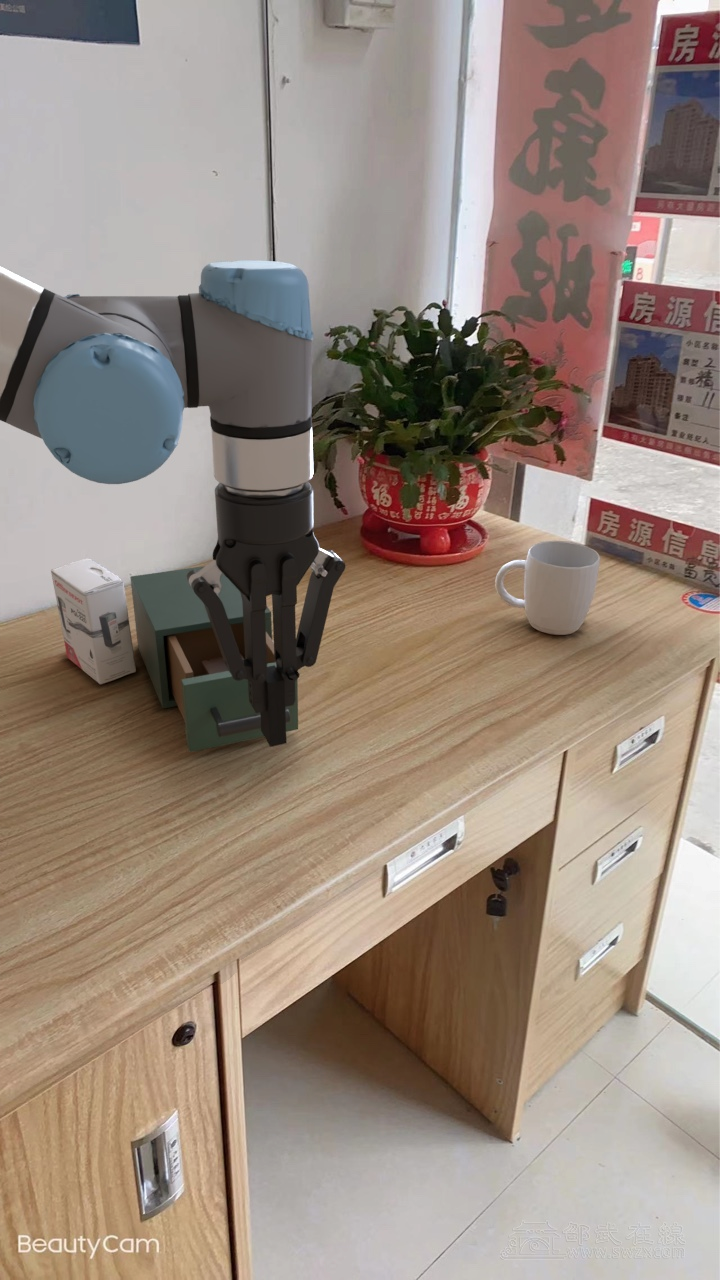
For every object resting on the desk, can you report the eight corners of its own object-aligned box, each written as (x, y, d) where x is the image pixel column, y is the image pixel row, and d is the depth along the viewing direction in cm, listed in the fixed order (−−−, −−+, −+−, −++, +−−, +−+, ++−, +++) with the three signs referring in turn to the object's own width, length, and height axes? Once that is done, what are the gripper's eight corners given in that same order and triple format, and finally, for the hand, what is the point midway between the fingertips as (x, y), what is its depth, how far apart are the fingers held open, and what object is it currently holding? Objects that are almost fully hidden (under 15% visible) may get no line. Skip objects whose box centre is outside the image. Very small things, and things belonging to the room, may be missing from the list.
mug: (592, 615, 118) (603, 545, 113) (585, 645, 111) (597, 572, 106) (498, 600, 121) (505, 532, 117) (485, 629, 114) (492, 557, 109)
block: (215, 717, 91) (213, 680, 89) (203, 696, 94) (200, 660, 92) (256, 708, 93) (254, 672, 91) (242, 688, 96) (240, 652, 94)
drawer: (312, 751, 88) (312, 684, 84) (199, 776, 84) (194, 707, 80) (260, 668, 102) (257, 607, 98) (161, 686, 98) (155, 624, 94)
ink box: (63, 658, 105) (48, 566, 99) (101, 645, 108) (89, 555, 102) (98, 687, 99) (85, 592, 94) (138, 672, 102) (127, 579, 97)
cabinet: (273, 687, 100) (271, 611, 96) (162, 708, 96) (154, 630, 91) (238, 631, 112) (234, 561, 107) (138, 648, 108) (130, 576, 103)
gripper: (326, 459, 73) (327, 701, 84) (168, 476, 68) (191, 730, 79) (361, 487, 67) (357, 744, 78) (190, 507, 62) (212, 777, 73)
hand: (273, 736), depth 79 cm, fingers closed
